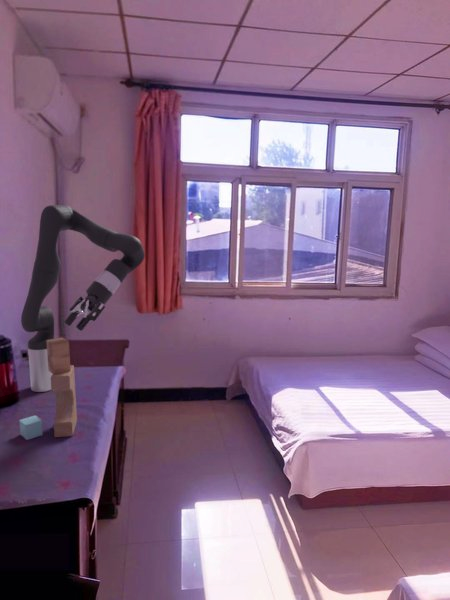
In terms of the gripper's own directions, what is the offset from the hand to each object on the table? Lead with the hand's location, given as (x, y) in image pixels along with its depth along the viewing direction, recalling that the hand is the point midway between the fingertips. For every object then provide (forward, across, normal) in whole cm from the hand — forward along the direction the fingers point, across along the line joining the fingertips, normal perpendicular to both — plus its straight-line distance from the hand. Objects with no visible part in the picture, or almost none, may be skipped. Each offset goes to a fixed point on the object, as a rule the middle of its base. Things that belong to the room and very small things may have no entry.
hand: (72, 326), depth 141 cm
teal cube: (+33, -4, +14) cm, 37 cm away
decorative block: (+27, 0, +21) cm, 34 cm away
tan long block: (+13, 0, +6) cm, 14 cm away
